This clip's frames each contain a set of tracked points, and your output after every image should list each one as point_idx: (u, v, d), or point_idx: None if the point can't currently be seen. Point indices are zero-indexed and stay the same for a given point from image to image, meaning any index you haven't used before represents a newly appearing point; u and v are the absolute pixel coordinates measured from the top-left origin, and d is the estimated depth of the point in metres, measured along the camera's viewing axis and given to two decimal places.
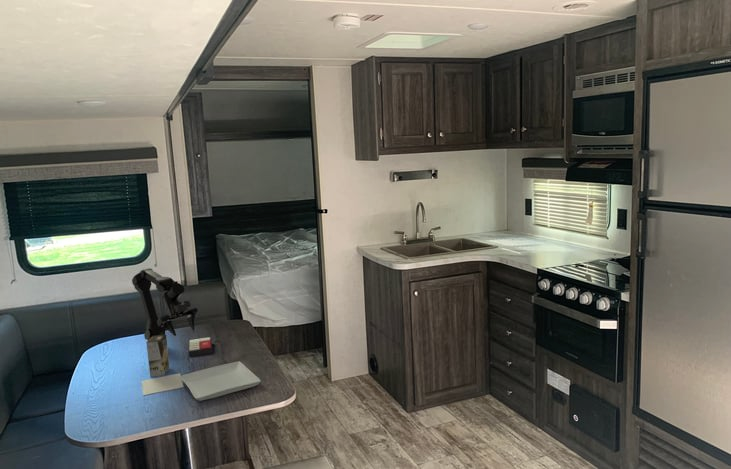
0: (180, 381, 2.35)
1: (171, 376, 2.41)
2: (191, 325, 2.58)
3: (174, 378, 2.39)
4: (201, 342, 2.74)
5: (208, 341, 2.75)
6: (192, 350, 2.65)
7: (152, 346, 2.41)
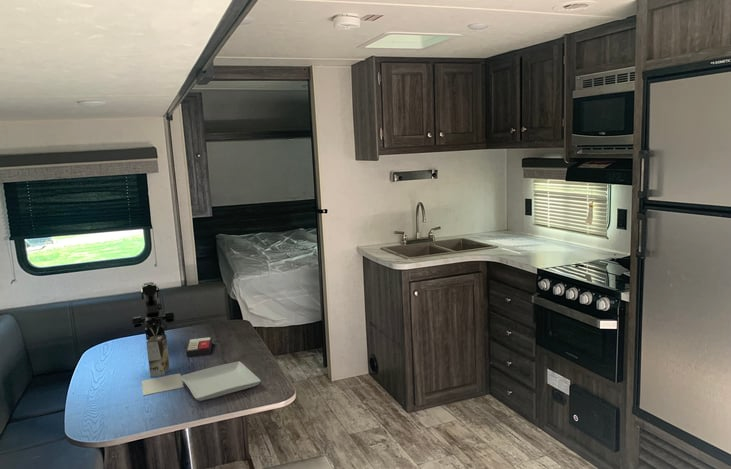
0: (180, 381, 2.35)
1: (171, 376, 2.41)
2: None
3: (174, 378, 2.39)
4: (200, 342, 2.74)
5: (207, 341, 2.75)
6: (190, 350, 2.66)
7: (152, 346, 2.41)
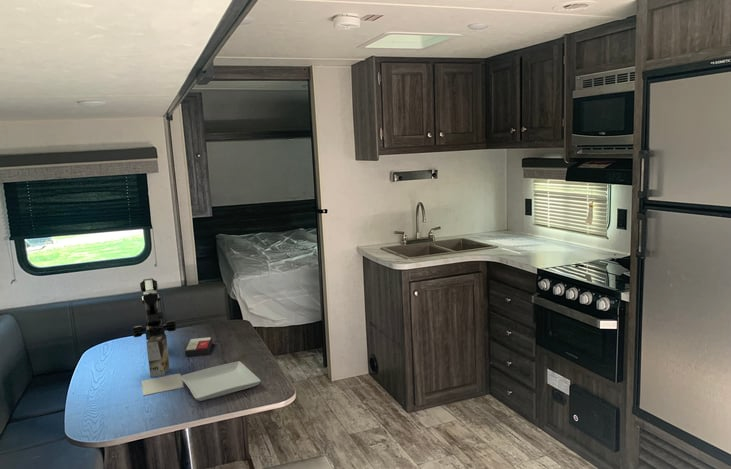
0: (180, 381, 2.35)
1: (171, 376, 2.41)
2: None
3: (174, 378, 2.39)
4: (200, 342, 2.74)
5: (207, 341, 2.74)
6: (188, 350, 2.66)
7: (152, 346, 2.41)
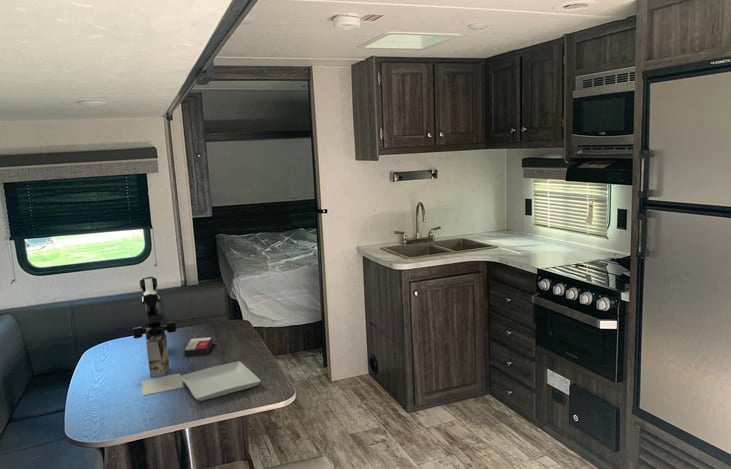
0: (180, 381, 2.35)
1: (171, 376, 2.41)
2: None
3: (174, 378, 2.39)
4: (200, 342, 2.74)
5: (207, 341, 2.74)
6: (188, 350, 2.66)
7: (151, 346, 2.41)
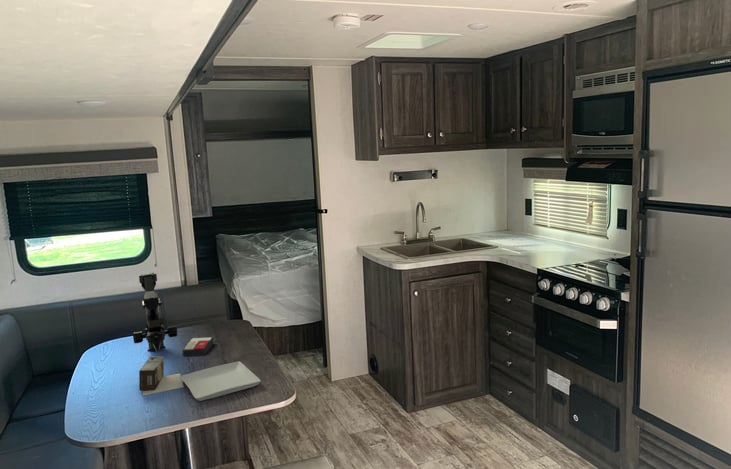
0: (180, 381, 2.35)
1: (171, 376, 2.41)
2: None
3: (174, 378, 2.39)
4: (199, 342, 2.74)
5: (206, 341, 2.74)
6: (186, 349, 2.67)
7: None
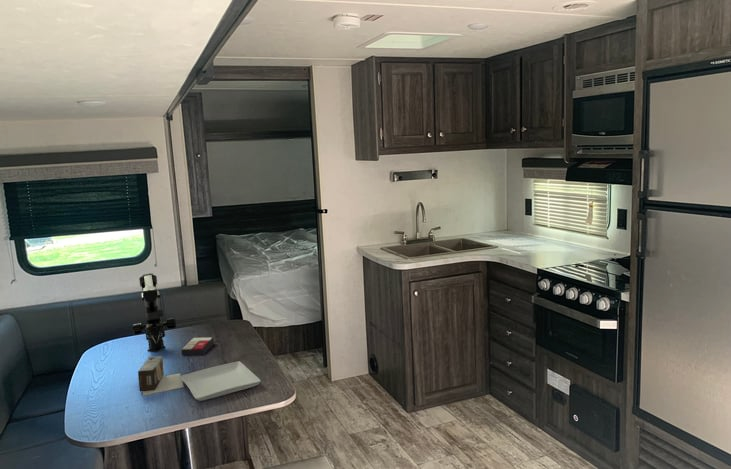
0: (180, 381, 2.35)
1: (171, 376, 2.41)
2: None
3: (174, 378, 2.39)
4: (199, 342, 2.74)
5: (206, 341, 2.74)
6: (185, 349, 2.67)
7: None
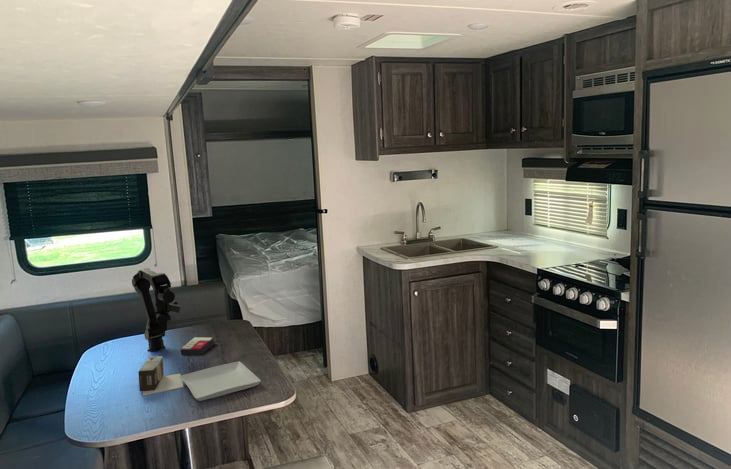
0: (180, 381, 2.35)
1: (171, 376, 2.41)
2: None
3: (174, 378, 2.39)
4: (199, 342, 2.75)
5: (205, 342, 2.74)
6: (184, 349, 2.68)
7: None
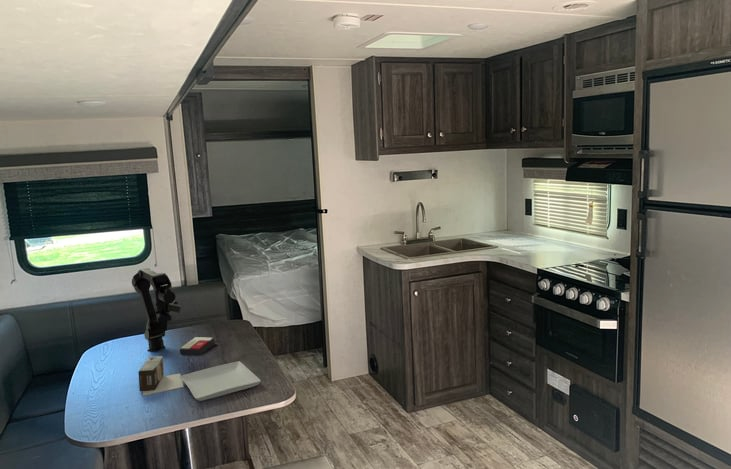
0: (180, 381, 2.35)
1: (171, 376, 2.41)
2: None
3: (174, 378, 2.39)
4: (199, 341, 2.75)
5: (205, 342, 2.74)
6: (183, 348, 2.68)
7: None
